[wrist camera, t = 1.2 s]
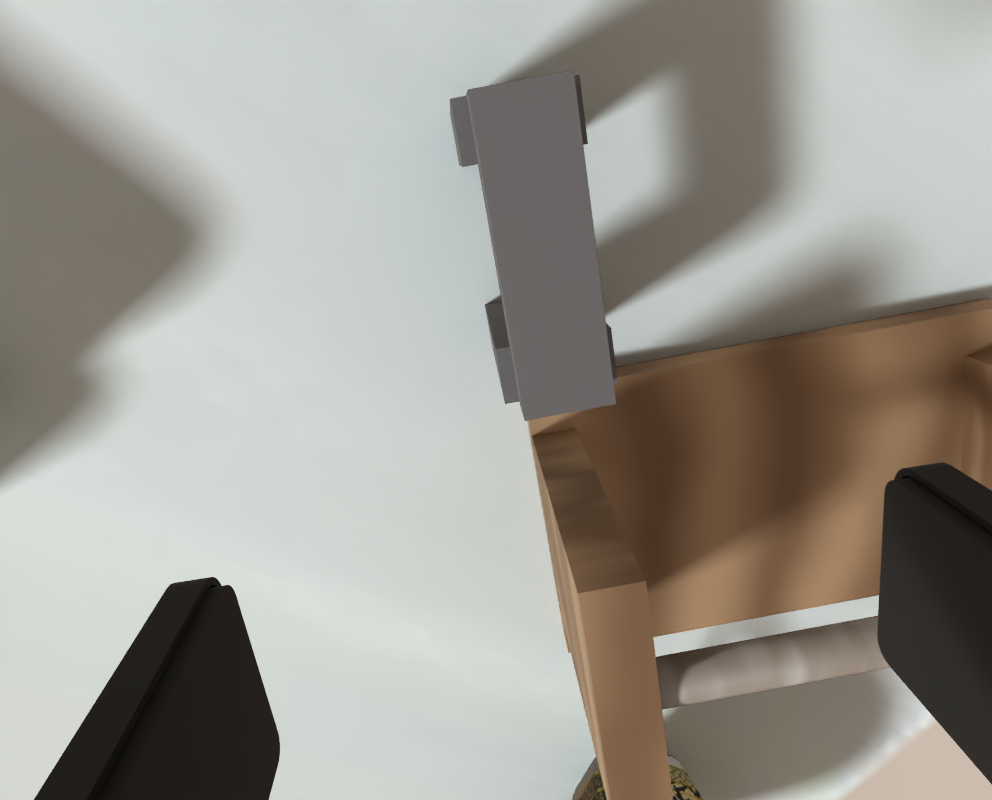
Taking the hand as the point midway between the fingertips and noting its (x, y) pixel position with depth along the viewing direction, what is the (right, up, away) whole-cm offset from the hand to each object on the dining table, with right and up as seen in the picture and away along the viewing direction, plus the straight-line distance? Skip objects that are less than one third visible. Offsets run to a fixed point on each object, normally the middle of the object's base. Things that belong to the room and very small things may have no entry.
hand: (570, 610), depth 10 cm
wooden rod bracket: (+12, -1, +25) cm, 28 cm away
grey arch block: (0, +10, +21) cm, 23 cm away
